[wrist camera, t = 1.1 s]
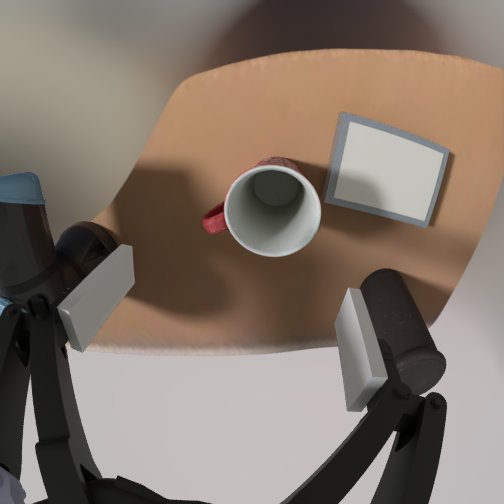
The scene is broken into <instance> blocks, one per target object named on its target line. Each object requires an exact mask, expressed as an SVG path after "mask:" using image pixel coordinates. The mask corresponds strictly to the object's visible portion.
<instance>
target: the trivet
mask: <svg viewBox="0 0 504 504" xmlns="http://www.w3.org/2000/svg"><path fill="white" fill-rule="evenodd" d="M449 150H450V149H448V148H446V147H443V146H441V145H439V144H436V143H434V142H432V141H429V140H427V139H424V138H422V137H419V136H417V135H414V134H411V133H409V132H406V131H403V130H401V129H398V128H395V127H392V126H389V125H386V124H383V123H380V122H377V121H374V120H370V119H367V118H364V117H360V116H357V115H353V114H349V113H346V112H339V116H338V121H337V126H336V131H335V137H334V142H333V147H332V151H331V156H330V161H329V166H328V170H327V175H326V179H325V184H324V188H323V192H322V199H323V201H324V203H328V204H332V205H337V206H341V207H346V208H350V209H354V210H358V211H363V212H367V213H371V214H375V215H379V216H383V217H387V218H390V219H394V220H398V221H402V222H406V223H409V224H413V225H416V226H420V227H423V228H427V227H428V224H429V221H430V218H431V215H432V212H433V209H434V206H435V203H436V199H437V196H438V193H439V189H440V186H441V182H442V179H443V175H444V171H445V167H446V163H447V159H448V155H449Z"/></svg>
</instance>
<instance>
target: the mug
mask: <svg viewBox="0 0 504 504" xmlns="http://www.w3.org/2000/svg"><path fill="white" fill-rule="evenodd" d="M320 220H321V203H320V199H319V196H318V194H317V192H316V190H315V188H314V187H313V185H312V184H311V183H310V181H309V180H308V179H307V178H306V177H304V175H303V174H302V172H301V171H300V169H299V168H298V167H297V166H296V165H295V164H294V163H293V162H291V161H290V160H288V159H285V158H282V157H271V158H267V159H265V160H263V161H261V162H259V163H258V164H257V165H256V166H255V167H253V168H251V169H249V170H247V171H245V172H244V173H242V174H241V175H240V176H238V177H237V178H236V179H235V181H234V182H233V183H232V185H231V186H230V188H229V189H228V192H227V194H226V197H225V201H224V202H222V203H221V204H219V205H217V206H216V207H214V208H213V209H212V210H210V211H209V212H208V213H207V214H205V216H204V217H203V218H202V223H203V226H204V228H205V229H206V231H207V232H208V233H209V234H216V233H220V232H222V231H225V230H227V229H229V230H230V232H231V234H232V235H233V237H234V238H235V239H236V240H237V241H238V242H239V243H240V244H241V245H242V246H243V247H245V248H246V249H248V250H249V251H251V252H253V253H256V254H259V255H262V256H268V257H281V256H286V255H289V254H292V253H295V252H297V251H299V250H300V249H302V248H303V247H304V246H306V245H307V244H308V243H309V242H310V241H311V240H312V239H313V237H314V236H315V234H316V232H317V230H318V227H319V224H320Z"/></svg>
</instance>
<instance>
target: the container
mask: <svg viewBox="0 0 504 504" xmlns="http://www.w3.org/2000/svg"><path fill="white" fill-rule="evenodd" d="M360 290H361V293H362V296H363V299H364V302H365V304H366V307H367V310H368V313H369V316H370V319H371V322H372V325H373V329H374V332H375V335H376V338H377V339H385V340H386V342H387V343H388V344H389V345H390V347H391V350H392V353H393V356H394V359H395V360H394V361H395V362H396V366H397V369H398V372H399V375H400V379H401V382H402V383H405V384H406V385H407V386H409V387H410V389H411V391H412V394H415V395H418V396H419V395H421V394H423V393H425V392H427V391H428V390H430V389H431V388H432V387H433V386H435V385H436V384H437V383H438V381H439V380H440V379H441V377H442V376H443V374H444V372H445V369H446V359H445V357H444V356H443V354H442V353H441V352H439V351H438V350H437V348H436V346H435V343H434V341H433V339H432V337H431V335H430V333H429V331H428V329H427V326H426V324H425V322H424V320H423V318H422V316H421V314H420V312H419V310H418V308H417V306H416V304H415V302H414V300H413V298H412V296H411V294H410V292H409V290H408V288H407V286H406V284H405V283H404V281H403V279H402V277H401V276H400V275H399V274H398V273H397V272H396V271H394V270H391V269H381V270H377V271H375V272H373V273H372V274H370V275H369V276H368V277H367V278H366V279H365V280H364V281H363V283H362V285H361V287H360Z"/></svg>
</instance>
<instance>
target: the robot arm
mask: <svg viewBox="0 0 504 504" xmlns="http://www.w3.org/2000/svg"><path fill="white" fill-rule="evenodd" d="M134 284H135V278H134V266H133V251H132V246H129V245H124V244H121V245H120V246H119V247H118V246H117V245H116V243H115V242H114V240H113V239H112V238H111V236H110V235H109V234H108V233H107V232H106V231H105V230H103V229H102V228H101V227H99V226H97V225H96V224H93V223H91V222H85V221H81V222H77V223H75V224H73V225H71V226H70V227H68V228H67V229H66V230H65V231H64V232H63V233H62V235H61V236H60V238H59V240H58V242H57V243H56V245H55V246H54V242H53V239H52V235H51V231H50V226H49V222H48V218H47V213H46V208H45V200H44V199H43V194H42V190H41V185H40V181H39V178H38V177H37V175H35V174H34V173H32V172H23V173H16V174H11V175H6V176H1V177H0V504H25V503H24V499H25V497H26V493H25V491H24V489H23V488H22V485H21V483H20V482H19V480H20V475H21V464H22V439H23V425H24V415H25V406H26V399H27V392H28V386H29V380H30V375H31V385H32V396H33V405H34V413H35V419H36V426H37V432H38V437H39V442H38V443H36V445H35V449H36V455H37V460H38V464H39V468H40V472H41V476H42V479H43V483H44V486H45V489H46V492H47V495H48V498H47V499H45V500H42V501H39V502H36V503H33V504H211V503H206V502H201V501H188V500H170V499H166V498H164V497H162V496H161V495H159V494H157V493H155V492H154V491H152V490H150V489H148V488H147V487H145V486H143V485H141V484H139V483H136V482H133V481H131V480H128V479H126V478H123V477H121V476H117V478H116V479H114V478H102V476H101V473H100V471H99V470H98V468H97V466H96V464H95V463H94V461H93V458H92V455H91V452H90V449H89V446H88V443H87V440H86V437H85V433H84V430H83V426H82V423H81V419H80V416H79V412H78V407H77V403H76V399H75V394H74V390H73V385H72V380H71V374H70V368H69V362H68V355H67V349H66V346H65V344H66V343H67V341H68V340H69V342H70V345H71V348H73V349H75V350H77V351H80V352H84V350H85V349H86V348H87V346H88V345H89V343H90V342H91V340H92V339H93V338H94V336H95V335H96V334H97V332H98V331H99V329H100V328H101V327H102V325H103V324H104V323H105V321H106V320H107V319H108V317H109V316H110V315H111V313H112V312H113V311H114V309H115V308H116V307H117V305H118V304H119V303H120V302H121V300H122V299H123V298H124V296H125V295H126V294H127V293H128V291H129V290H130V289H131V288H132V286H133V285H134ZM334 324H335V330H336V336H337V342H338V348H339V355H340V361H341V368H342V375H343V382H344V390H345V398H346V407H347V411H353V412H361V411H362V410H363V409H364V408H365V407H366V405H367V410H368V413H367V414H366V415H365V416H364V417H363V418H362V419H361V420H360V421H359V423H358V425H357V426H356V427H355V428H354V430H353V431H352V432H351V433H350V435H349V436H348V437H347V438H346V439H345V440H344V441H343V443H342V444H341V445H340V446H339V447H338V448H337V449H336V450H335V452H334V453H333V454H332V455H331V456H330V457H329V458H328V459H327V460H326V461H325V462H324V463H323V464H322V465H321V466H320V467H319V468H318V470H317V471H315V472H314V473H313V474H312V475H311V476H310V477H309V478H308V479H307V480H306V481H305V482H304V483H303V484H302V485H301V486H300V487H299V488H298V489H297V490H295V491H294V492H293V493H292V494H291V495H290V496H288V498H286V499H285V500H284V501H283V502H281V503H280V504H338V503H339V502H340V501H341V500H342V499H343V498H344V497H345V496H346V494H347V493H348V492H349V491H350V490H351V489H352V487H353V486H354V485H355V484H356V482H357V481H358V480H359V479H360V477H361V476H362V475H363V474H364V472H365V471H366V470H367V468H368V467H369V466H370V464H371V463H372V462H373V460H374V459H375V457H376V456H377V455H378V453H379V452H380V450H381V449H382V447H383V446H384V445H385V443H386V441H387V440H388V438H389V437H390V435H391V434H392V432H393V431H397V434H396V436H395V440H394V443H393V446H392V449H391V452H390V455H389V458H388V461H387V464H386V467H385V469H384V472H383V475H382V477H381V480H380V482H379V485H378V487H377V489H376V492H375V494H374V496H373V499H372V501H371V503H370V504H428V503H429V500H430V496H431V493H432V489H433V485H434V481H435V477H436V473H437V469H438V464H439V459H440V454H441V448H442V442H443V436H444V428H445V421H446V412H447V402H446V400H445V398H444V397H443V396H442V395H441V394H439V393H436V392H432V393H429V394H428V395H427V396H426V397H421V396H418V395H415V394H412V391H411V389H410V387H409V386H407V385H406V384H405V383H402V382H401V379H400V375H399V372H398V369H397V366H396V362H395V361H394V360H395V359H394V356H393V353H392V350H391V347H390V345H389V344H388V343H387V342H386V340H385V339H377V338H376V335H375V332H374V329H373V325H372V322H371V319H370V316H369V313H368V310H367V307H366V304H365V302H364V299H363V296H362V293H361V290H360V289H354V288H348V290H347V293H346V295H345V298H344V300H343V303H342V305H341V308H340V310H339V313H338V315H337V317H336V320H335V322H334Z"/></svg>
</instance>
